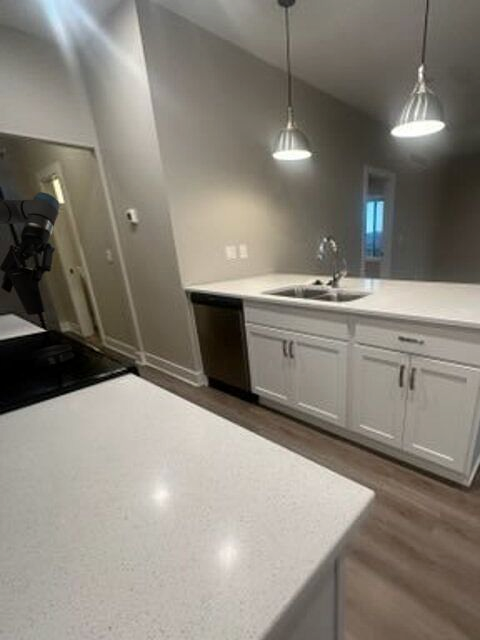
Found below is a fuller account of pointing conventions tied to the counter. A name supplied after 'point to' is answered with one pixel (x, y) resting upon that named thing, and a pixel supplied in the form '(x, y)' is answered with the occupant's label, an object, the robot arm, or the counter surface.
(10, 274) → the drinking cup
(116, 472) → the counter surface
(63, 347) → the stand
